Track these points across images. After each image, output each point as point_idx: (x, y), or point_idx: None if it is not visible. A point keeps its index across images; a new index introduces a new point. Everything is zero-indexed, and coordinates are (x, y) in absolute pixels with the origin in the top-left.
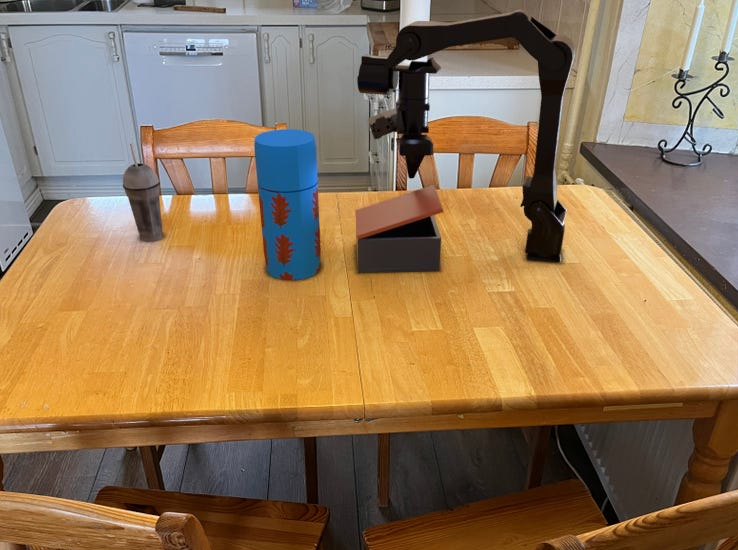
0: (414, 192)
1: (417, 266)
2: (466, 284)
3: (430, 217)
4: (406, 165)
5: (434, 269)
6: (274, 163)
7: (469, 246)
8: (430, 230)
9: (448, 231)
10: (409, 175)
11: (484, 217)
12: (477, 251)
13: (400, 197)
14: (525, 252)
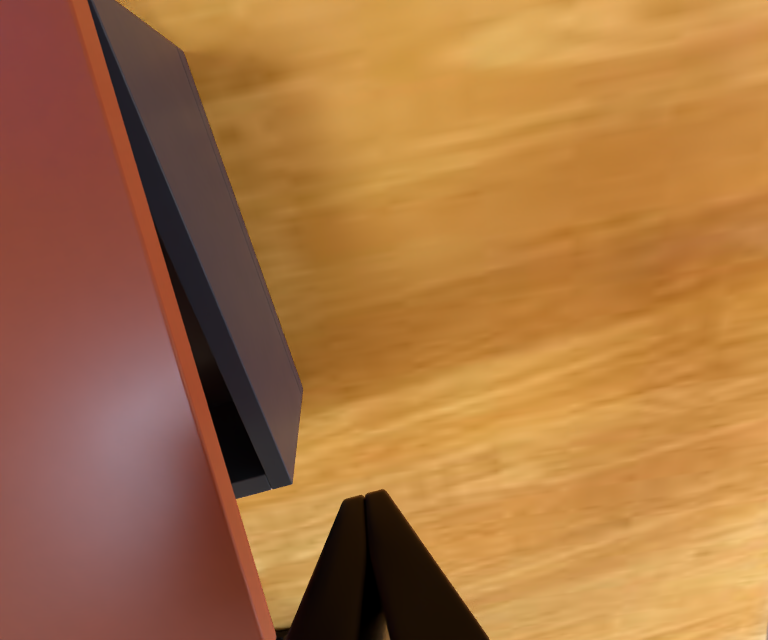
0: (186, 515)
1: None
2: None
3: (230, 480)
4: (400, 593)
5: None
6: None
7: (315, 499)
8: (220, 445)
9: (430, 423)
10: (334, 533)
11: (557, 502)
12: (282, 523)
13: (138, 398)
14: (285, 636)
